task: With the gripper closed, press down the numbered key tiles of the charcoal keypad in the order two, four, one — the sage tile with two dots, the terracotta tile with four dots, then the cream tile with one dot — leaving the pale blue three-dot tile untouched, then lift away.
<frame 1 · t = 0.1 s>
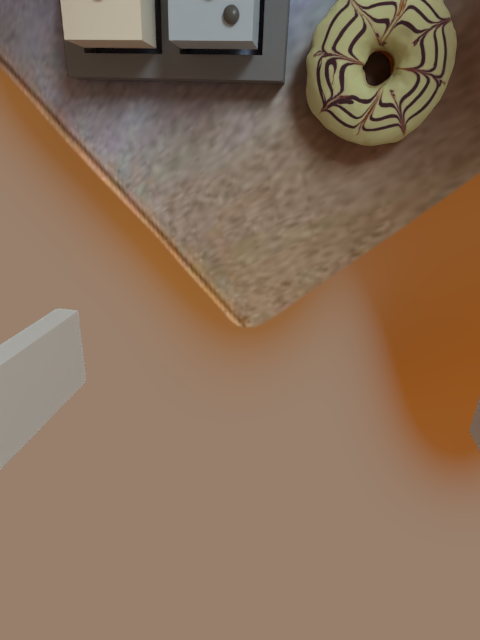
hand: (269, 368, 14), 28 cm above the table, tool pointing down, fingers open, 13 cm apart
decorated donut: (373, 72, 34), on the table
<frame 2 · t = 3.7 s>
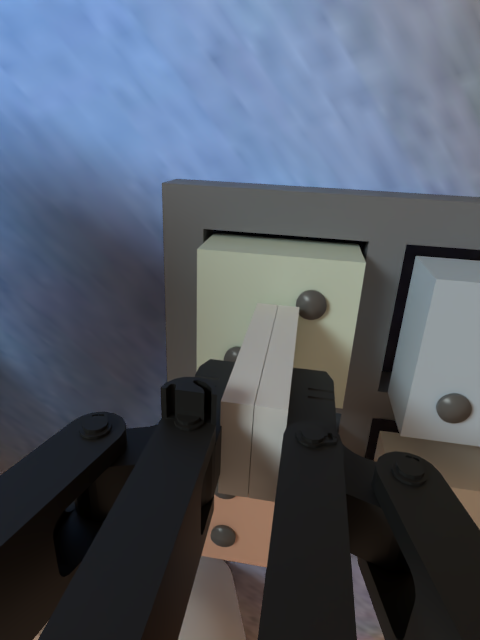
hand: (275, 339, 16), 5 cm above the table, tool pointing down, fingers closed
tile 2: (276, 318, 18), point 3 cm above the table, slide at 1.3 cm, touching gripper
tile 4: (260, 491, 20), point 4 cm above the table, slide at 0.0 cm
mug: (183, 579, 29), on the table
keypad board: (355, 380, 21), on the table
tile 1: (444, 519, 19), point 4 cm above the table, slide at 0.0 cm
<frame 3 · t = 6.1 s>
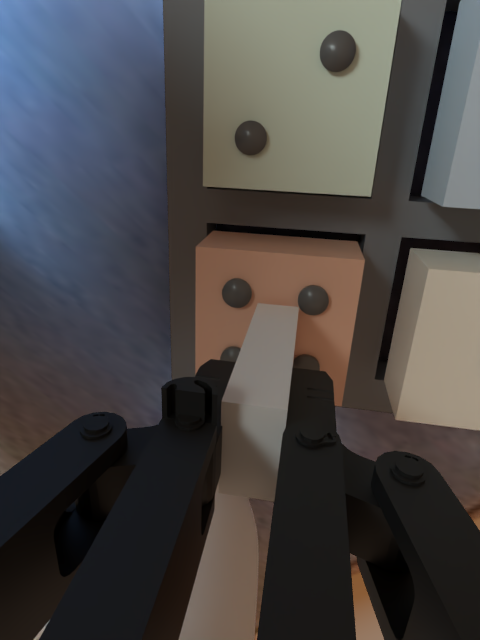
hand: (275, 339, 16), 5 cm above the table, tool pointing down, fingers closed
tile 2: (294, 100, 16), point 3 cm above the table, slide at 1.5 cm
tile 4: (275, 316, 18), point 4 cm above the table, slide at 0.5 cm, touching gripper
mug: (185, 477, 27), on the table
keypad board: (379, 210, 19), on the table
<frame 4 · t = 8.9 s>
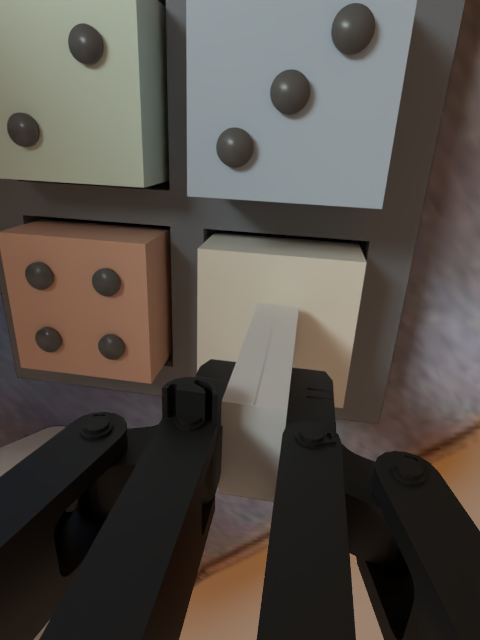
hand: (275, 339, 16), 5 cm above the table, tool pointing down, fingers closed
tile 2: (75, 93, 16), point 3 cm above the table, slide at 1.5 cm
tile 4: (93, 299, 19), point 3 cm above the table, slide at 1.4 cm
mug: (59, 469, 27), on the table
keypad board: (198, 203, 19), on the table
tile 3: (292, 97, 13), point 4 cm above the table, slide at 0.0 cm
tile 1: (276, 318, 18), point 3 cm above the table, slide at 1.4 cm, touching gripper
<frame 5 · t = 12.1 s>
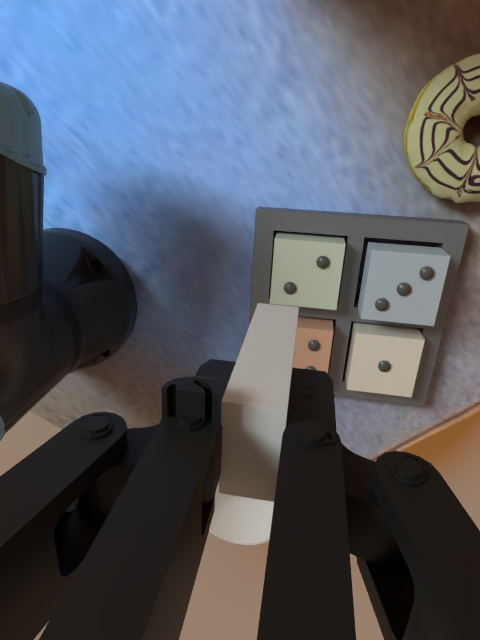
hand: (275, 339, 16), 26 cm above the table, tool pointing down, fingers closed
tile 2: (306, 270, 39), point 3 cm above the table, slide at 1.5 cm
tile 4: (298, 350, 42), point 3 cm above the table, slide at 1.4 cm
mug: (245, 433, 51), on the table
keypad board: (343, 306, 43), on the table
decorated donut: (468, 133, 36), on the table
tile 3: (400, 283, 37), point 4 cm above the table, slide at 0.0 cm
tile 1: (382, 358, 41), point 3 cm above the table, slide at 1.5 cm
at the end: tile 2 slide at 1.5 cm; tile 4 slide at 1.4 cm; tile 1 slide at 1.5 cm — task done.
